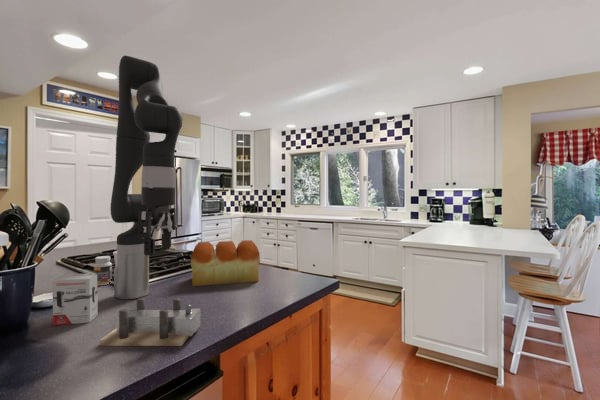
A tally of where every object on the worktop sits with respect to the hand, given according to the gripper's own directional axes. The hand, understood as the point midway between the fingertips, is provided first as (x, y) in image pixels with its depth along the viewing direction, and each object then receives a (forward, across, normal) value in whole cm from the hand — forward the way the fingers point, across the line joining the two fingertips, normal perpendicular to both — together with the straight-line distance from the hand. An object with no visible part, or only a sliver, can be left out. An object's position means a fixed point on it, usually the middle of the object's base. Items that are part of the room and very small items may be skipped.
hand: (158, 251), depth 74 cm
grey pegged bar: (+18, +4, +2) cm, 18 cm away
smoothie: (+21, -47, -38) cm, 64 cm away
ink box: (+20, -4, -24) cm, 31 cm away
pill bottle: (+20, -35, -38) cm, 56 cm away
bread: (+20, -43, +6) cm, 48 cm away
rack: (+19, +4, 0) cm, 20 cm away
